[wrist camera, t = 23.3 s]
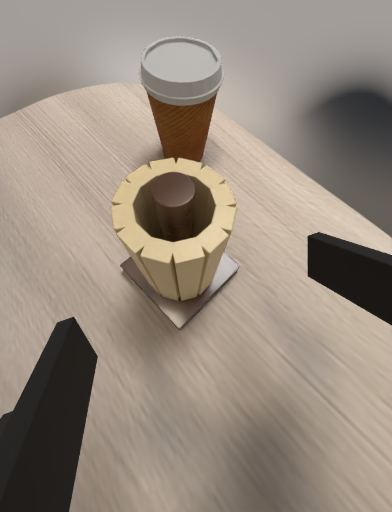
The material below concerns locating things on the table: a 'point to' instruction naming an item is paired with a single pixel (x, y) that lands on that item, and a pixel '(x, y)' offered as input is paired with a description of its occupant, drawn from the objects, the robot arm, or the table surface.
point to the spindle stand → (176, 229)
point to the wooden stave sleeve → (181, 252)
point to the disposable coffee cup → (181, 92)
